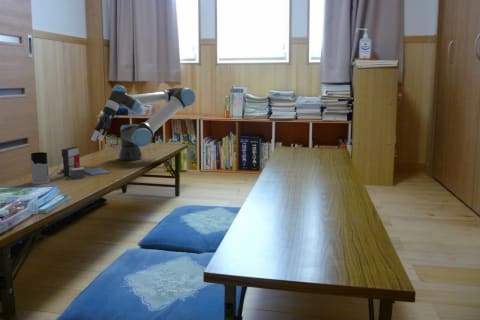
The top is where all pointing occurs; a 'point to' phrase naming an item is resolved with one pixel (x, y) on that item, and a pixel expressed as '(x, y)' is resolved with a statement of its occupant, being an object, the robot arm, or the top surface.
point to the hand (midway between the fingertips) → (96, 140)
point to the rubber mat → (96, 171)
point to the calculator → (70, 160)
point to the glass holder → (40, 168)
